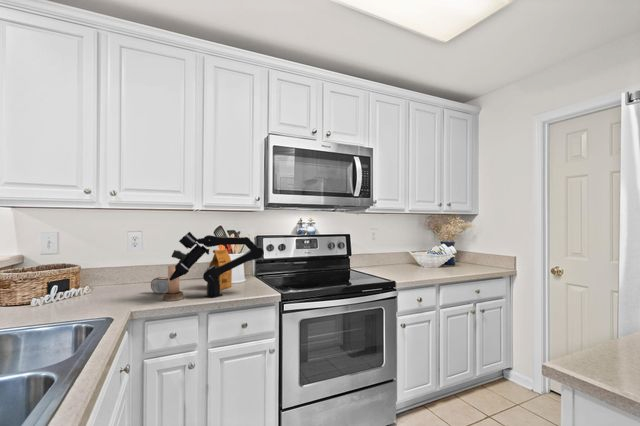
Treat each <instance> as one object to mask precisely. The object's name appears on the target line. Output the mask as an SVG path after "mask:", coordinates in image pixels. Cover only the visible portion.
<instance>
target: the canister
mask: <svg viewBox="0 0 640 426" xmlns="http://www.w3.org/2000/svg"><path fill="white" fill-rule="evenodd" d="M176 265H177V264H173V265H172V264H171V265H168V266H167V278H168V293H170V294H172V293H178V292H179V291H180V277H178V278H176V279H174V280H171V281H170V280H169V279H170V277H171V276H172V274H173V273H174V272H175V266H176Z"/></svg>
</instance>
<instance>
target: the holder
mask: <svg viewBox="0 0 640 426" xmlns="http://www.w3.org/2000/svg"><path fill="white" fill-rule="evenodd" d="M183 299H184V291H181V290H179V292H178V293H172V294H170V293H168V292H166V293H164V294H163V299H162V300H163V301H164V302H178V301H181V300H183Z"/></svg>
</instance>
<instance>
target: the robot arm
mask: <svg viewBox="0 0 640 426" xmlns="http://www.w3.org/2000/svg"><path fill="white" fill-rule="evenodd" d="M178 242H179V243H180V244H181V245H182V246H183V247H184V248H186V249H191V250H190V251H189V252H187V253H185V252H182V251H181V250H179V249H178V250H176V249H175V250H173V252H172V255H171V258H173V259H174V258H175V259H178V260H179V261H178V262H177V263H176V264H175V265H176V266H175V272H174V273H173V274H172V276H171V277H170V279H169V280H170V281H171V280H174V279H176V278H178V277H179V278H180V277H182V276H184V275H187V273H189V272H190V269H191V268H192V267H193V266H194V264H196V263H197V262H198V261H199V259H200V258H201V257H202V256H203V255H204V254H206V255H210V248H212V247H216V246H217V247H218V246H222V245H225V246H226V245H227V246H230V245H233V246H234V245H237V246H239V245H245V246H246V247H247V248H248V249H249V250H248V251H247V252H246V253H243V254H242V255H240V256H237V257H235V258H234V259H231V261H229V262H227V263H225V264H223V265H221V266H218V267H215V265H213V266H212V267H210V268H209V267H207V268H206V269H205V271H204V272H203V276H202V278H203V280H204V282H206V294H204V297H206V298H212V299H213V298H216V297H217V298H218V297H222V296H223V294H221V290H220V284H219V282H220V280H219V276H220V275H221V274H223V273H224V272H226V271H229V270H231V269H232V270H233V269H235V268H237V267H239V266H240V265H243V264H245V263H247V262H249V261H255V260H258V259H262V258H263V256H264V249H263V248H262V247H260V246H257V245H256V244H255V243H254V242H253V241H252V240H251V239H250V237H248V236H243V237H242V236H241V237H239V236H237V237H235V236H233V237H231V236H230V237H227V236H226V237H225V236H224V237H222V236H218V235H217V236H216V235H212V234H207V235H205V236H204V237H201V238H196V236H194V234H193V233H191V232H190V231H188V232H187V233H186V234H185V235H184V236H183V237H182V238H180V240H179V241H178ZM201 245H202V246H201Z"/></svg>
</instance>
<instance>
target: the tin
mask: <svg viewBox="0 0 640 426" xmlns="http://www.w3.org/2000/svg"><path fill="white" fill-rule="evenodd" d="M150 288H151V291H152V292H153V293H154V294H159V295H164V293H166V292H168V277H162V276H158V277H155V278H153V279H152V280H151V282H150Z"/></svg>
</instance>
